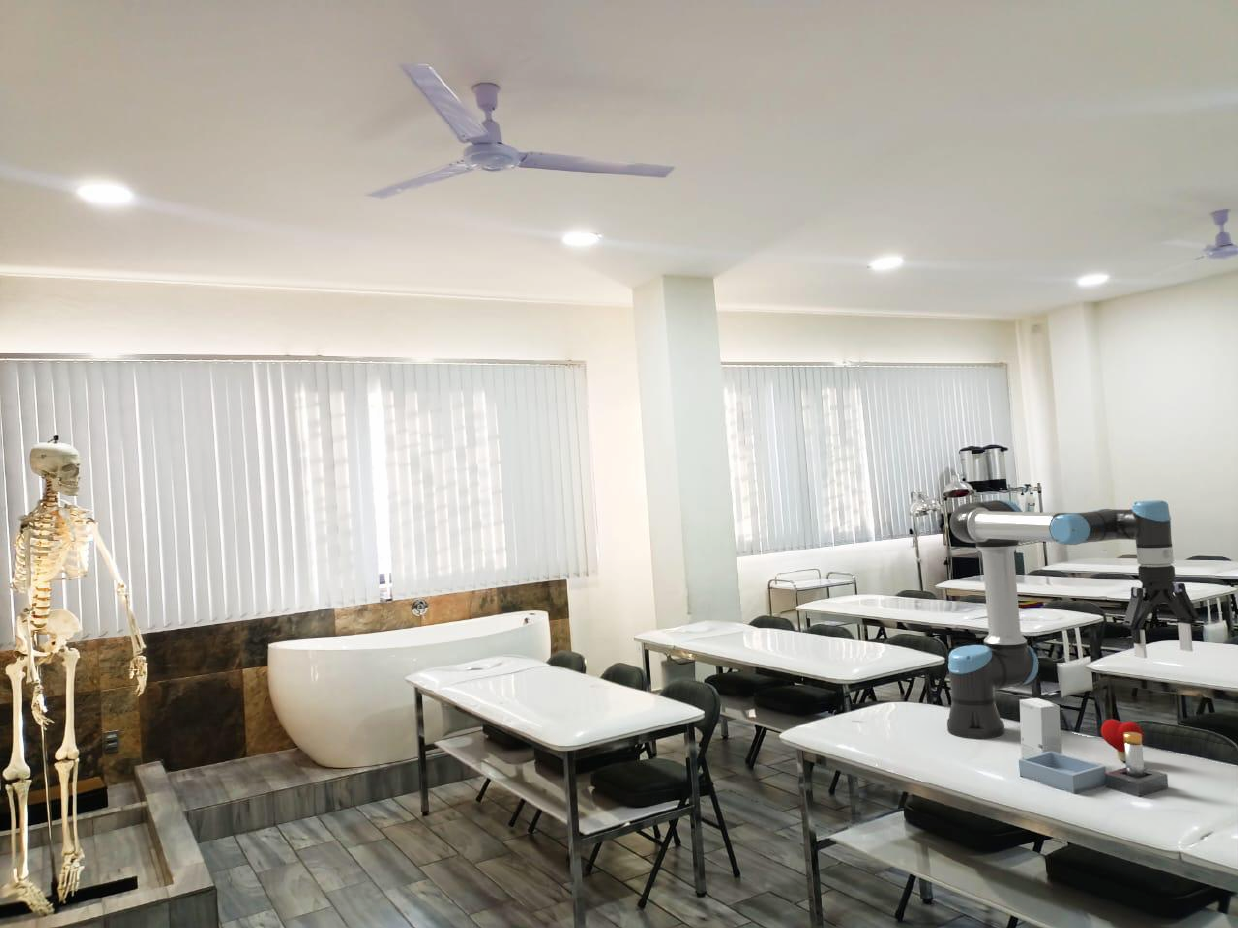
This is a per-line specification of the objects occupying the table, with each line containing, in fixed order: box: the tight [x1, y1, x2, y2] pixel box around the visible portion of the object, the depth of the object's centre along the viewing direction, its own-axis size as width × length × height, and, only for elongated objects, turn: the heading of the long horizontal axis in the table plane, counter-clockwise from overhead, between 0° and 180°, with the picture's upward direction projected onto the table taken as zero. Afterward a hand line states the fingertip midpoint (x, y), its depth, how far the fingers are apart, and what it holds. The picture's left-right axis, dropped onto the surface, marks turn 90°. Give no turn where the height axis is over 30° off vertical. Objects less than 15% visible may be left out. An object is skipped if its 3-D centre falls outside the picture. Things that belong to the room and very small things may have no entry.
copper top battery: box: [1123, 732, 1145, 779], centre depth 199 cm, size 4×4×12 cm
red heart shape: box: [1100, 718, 1144, 763], centre depth 216 cm, size 9×7×10 cm
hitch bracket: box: [1105, 767, 1169, 798], centre depth 199 cm, size 8×10×3 cm
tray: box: [1018, 751, 1107, 795], centre depth 206 cm, size 15×11×4 cm
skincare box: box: [1019, 697, 1063, 759], centre depth 221 cm, size 8×6×15 cm
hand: (1163, 653), depth 209 cm, fingers open, 13 cm apart
